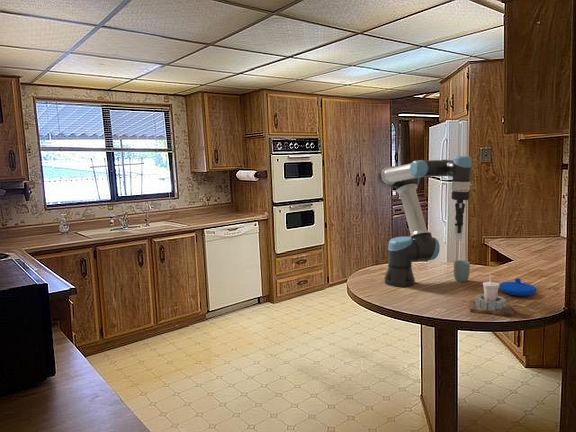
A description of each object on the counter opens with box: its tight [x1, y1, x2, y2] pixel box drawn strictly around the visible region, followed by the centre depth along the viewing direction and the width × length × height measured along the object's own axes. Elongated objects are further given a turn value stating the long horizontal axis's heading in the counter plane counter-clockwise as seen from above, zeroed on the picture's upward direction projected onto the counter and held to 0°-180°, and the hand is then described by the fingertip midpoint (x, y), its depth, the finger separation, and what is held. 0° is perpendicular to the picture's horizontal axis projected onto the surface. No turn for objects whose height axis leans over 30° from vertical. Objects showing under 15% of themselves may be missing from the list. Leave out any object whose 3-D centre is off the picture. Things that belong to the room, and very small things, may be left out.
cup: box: [453, 260, 471, 283], centre depth 226 cm, size 8×8×10 cm
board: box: [468, 299, 514, 316], centre depth 184 cm, size 16×12×1 cm
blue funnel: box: [498, 278, 537, 297], centre depth 204 cm, size 16×16×7 cm
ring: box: [474, 293, 507, 311], centre depth 184 cm, size 12×12×4 cm
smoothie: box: [482, 273, 500, 301], centre depth 183 cm, size 6×6×14 cm
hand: (458, 237), depth 199 cm, fingers open, 13 cm apart
